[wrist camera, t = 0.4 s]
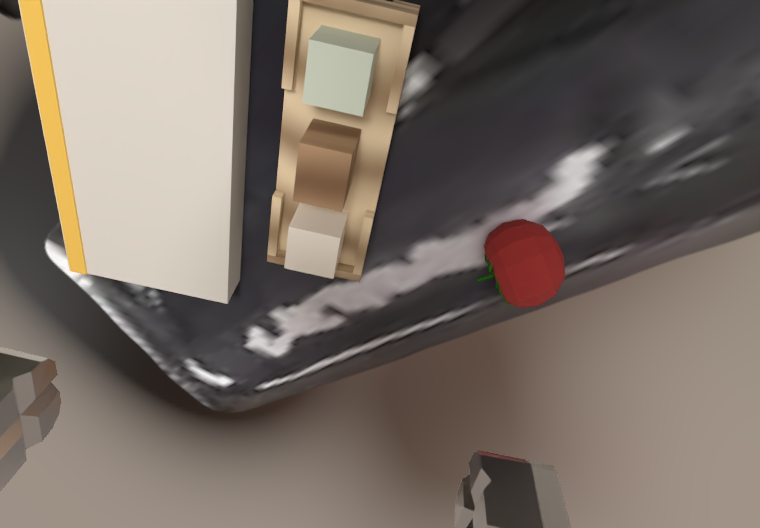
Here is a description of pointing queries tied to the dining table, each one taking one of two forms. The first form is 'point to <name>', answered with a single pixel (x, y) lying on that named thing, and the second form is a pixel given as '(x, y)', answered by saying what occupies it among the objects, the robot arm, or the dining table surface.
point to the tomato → (524, 263)
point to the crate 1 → (340, 70)
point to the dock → (146, 135)
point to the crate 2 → (315, 240)
